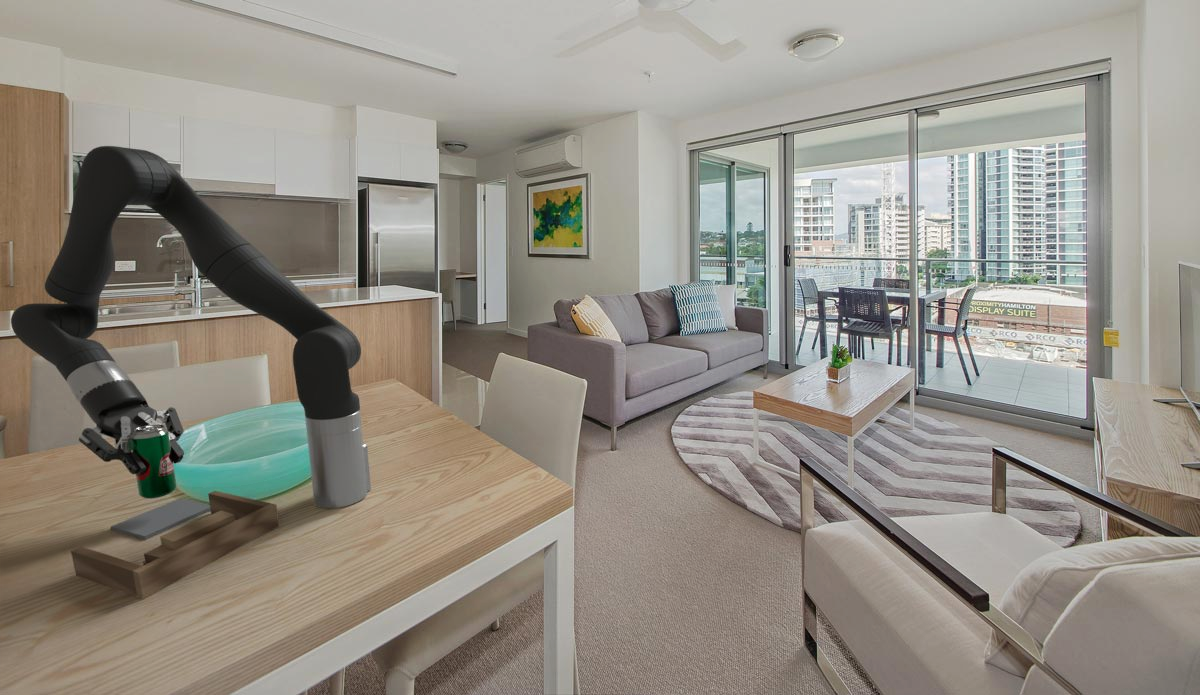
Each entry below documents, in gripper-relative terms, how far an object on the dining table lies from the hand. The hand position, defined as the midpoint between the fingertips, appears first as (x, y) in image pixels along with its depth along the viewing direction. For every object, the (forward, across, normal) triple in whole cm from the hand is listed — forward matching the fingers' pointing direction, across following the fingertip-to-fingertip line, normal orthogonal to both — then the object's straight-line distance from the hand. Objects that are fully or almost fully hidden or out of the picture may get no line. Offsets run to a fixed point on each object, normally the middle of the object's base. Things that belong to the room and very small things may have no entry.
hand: (161, 466), depth 89 cm
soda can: (+3, 0, +5) cm, 6 cm away
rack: (+15, -5, -1) cm, 16 cm away
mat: (+6, 0, +8) cm, 10 cm away
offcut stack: (+17, -5, -3) cm, 18 cm away
